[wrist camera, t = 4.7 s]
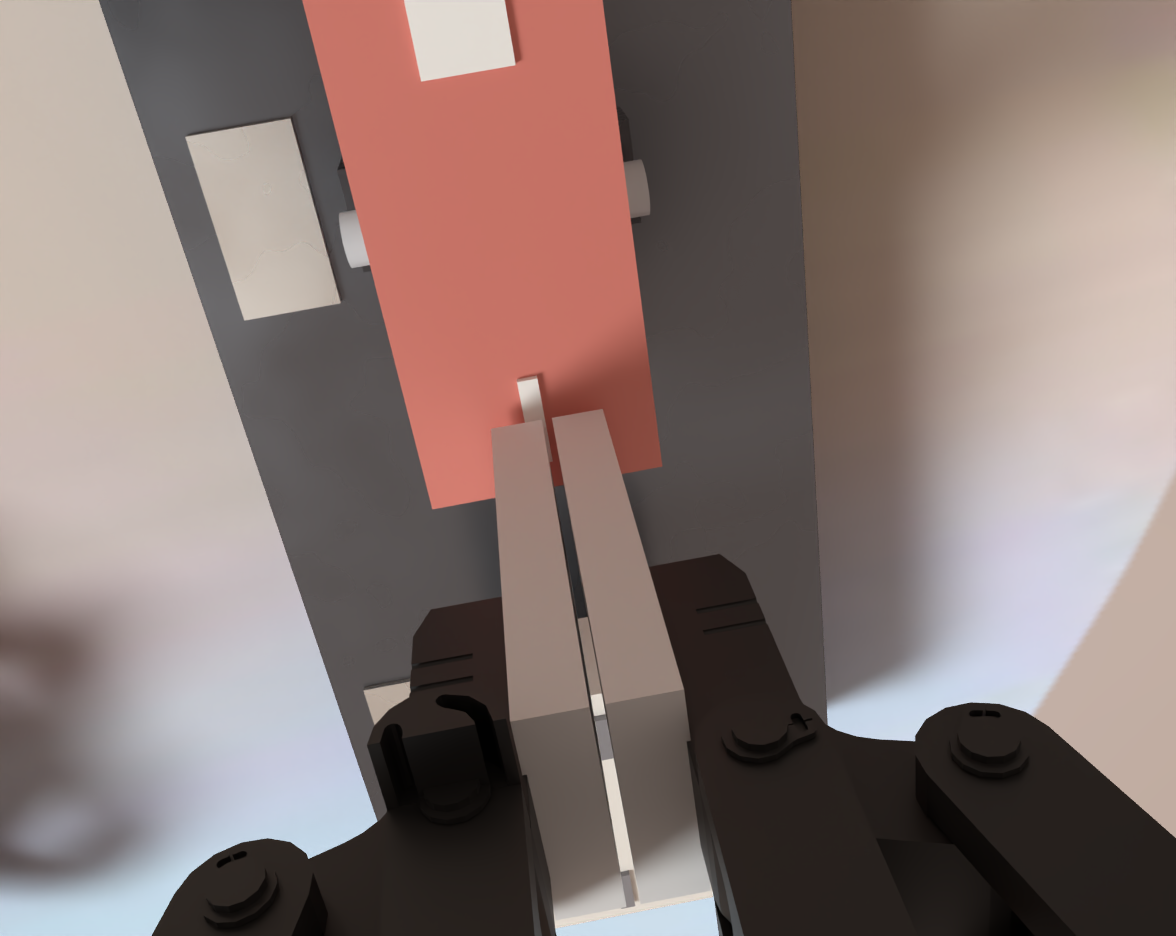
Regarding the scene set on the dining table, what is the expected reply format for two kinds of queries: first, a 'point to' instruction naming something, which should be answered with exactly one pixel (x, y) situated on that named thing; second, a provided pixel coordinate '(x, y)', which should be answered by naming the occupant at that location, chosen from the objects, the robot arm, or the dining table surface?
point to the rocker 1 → (492, 221)
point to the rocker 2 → (614, 803)
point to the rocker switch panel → (364, 356)
